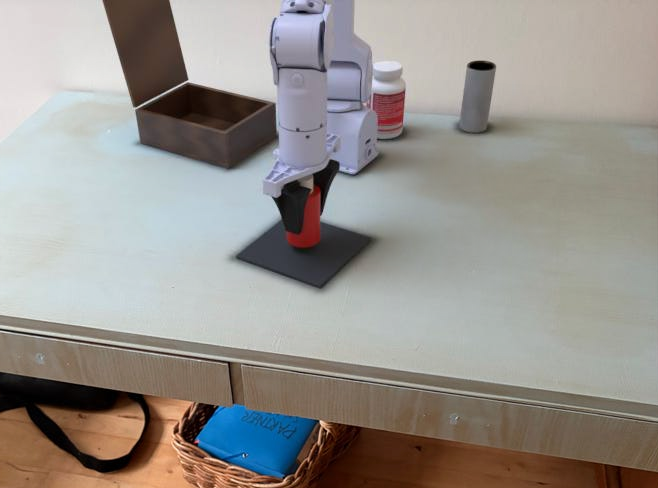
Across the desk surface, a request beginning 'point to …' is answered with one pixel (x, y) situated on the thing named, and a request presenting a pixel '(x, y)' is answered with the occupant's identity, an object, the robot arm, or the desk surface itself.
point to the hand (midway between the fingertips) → (304, 222)
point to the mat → (305, 253)
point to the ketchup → (308, 217)
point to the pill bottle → (388, 98)
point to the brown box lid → (146, 46)
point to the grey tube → (477, 96)
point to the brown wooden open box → (207, 124)
